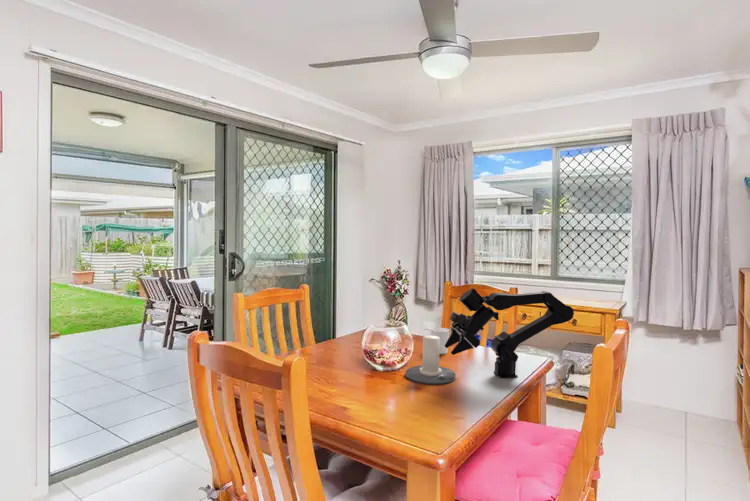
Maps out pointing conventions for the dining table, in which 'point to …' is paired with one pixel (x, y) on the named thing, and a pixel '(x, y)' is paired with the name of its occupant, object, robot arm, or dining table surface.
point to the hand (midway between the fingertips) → (448, 350)
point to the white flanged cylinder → (431, 356)
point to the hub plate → (444, 378)
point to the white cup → (441, 338)
